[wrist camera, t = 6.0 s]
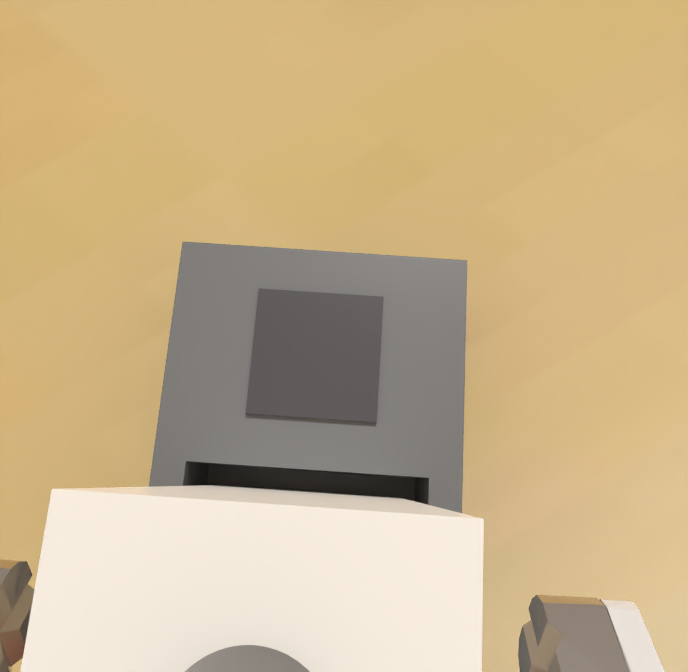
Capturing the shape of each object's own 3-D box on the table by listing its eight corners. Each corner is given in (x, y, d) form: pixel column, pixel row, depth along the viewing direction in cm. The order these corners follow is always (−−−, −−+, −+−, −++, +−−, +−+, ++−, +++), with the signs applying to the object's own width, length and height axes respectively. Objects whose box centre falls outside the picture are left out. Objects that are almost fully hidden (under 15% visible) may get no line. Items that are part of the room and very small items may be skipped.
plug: (387, 685, 15) (556, 1398, 3) (204, 672, 15) (-260, 1330, 3) (395, 496, 16) (547, 533, 4) (225, 484, 16) (-73, 492, 4)
